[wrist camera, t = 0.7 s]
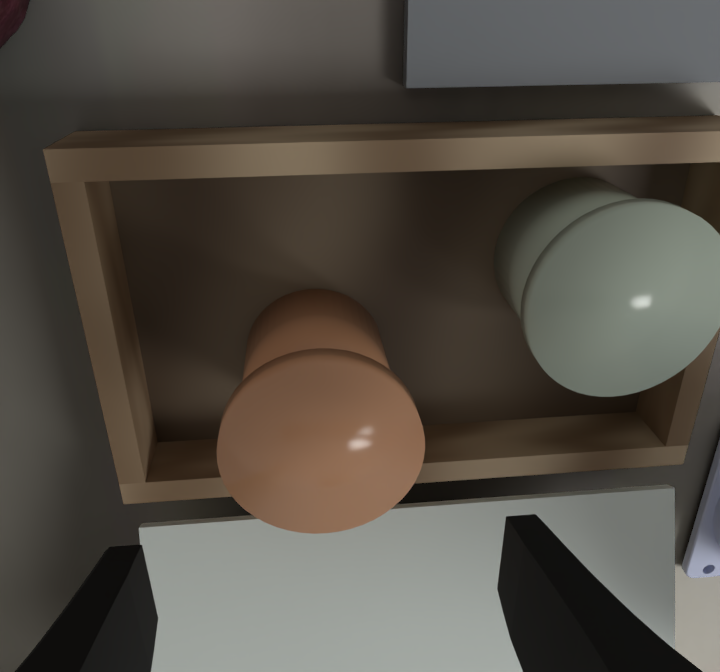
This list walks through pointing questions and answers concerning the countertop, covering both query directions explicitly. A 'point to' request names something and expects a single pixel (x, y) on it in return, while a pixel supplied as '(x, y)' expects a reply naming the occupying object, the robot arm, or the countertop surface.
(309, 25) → the countertop surface
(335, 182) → the brown rectangular frame
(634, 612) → the lid
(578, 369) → the glazed pot
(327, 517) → the pot
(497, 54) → the slate mat
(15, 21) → the vegetable
